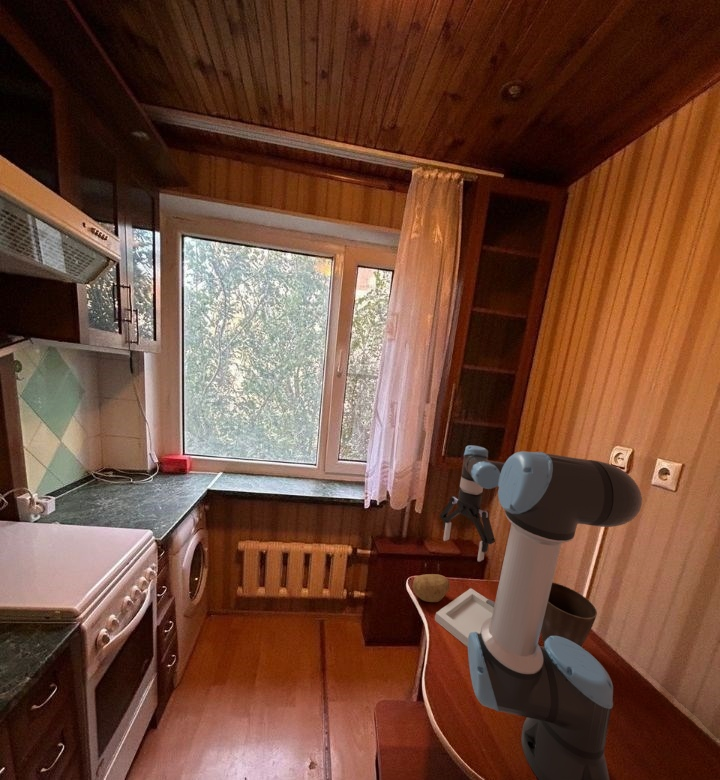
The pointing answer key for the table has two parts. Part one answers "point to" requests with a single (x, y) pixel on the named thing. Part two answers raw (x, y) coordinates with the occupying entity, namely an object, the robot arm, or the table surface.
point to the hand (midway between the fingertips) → (462, 549)
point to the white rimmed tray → (465, 615)
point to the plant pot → (568, 615)
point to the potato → (431, 587)
